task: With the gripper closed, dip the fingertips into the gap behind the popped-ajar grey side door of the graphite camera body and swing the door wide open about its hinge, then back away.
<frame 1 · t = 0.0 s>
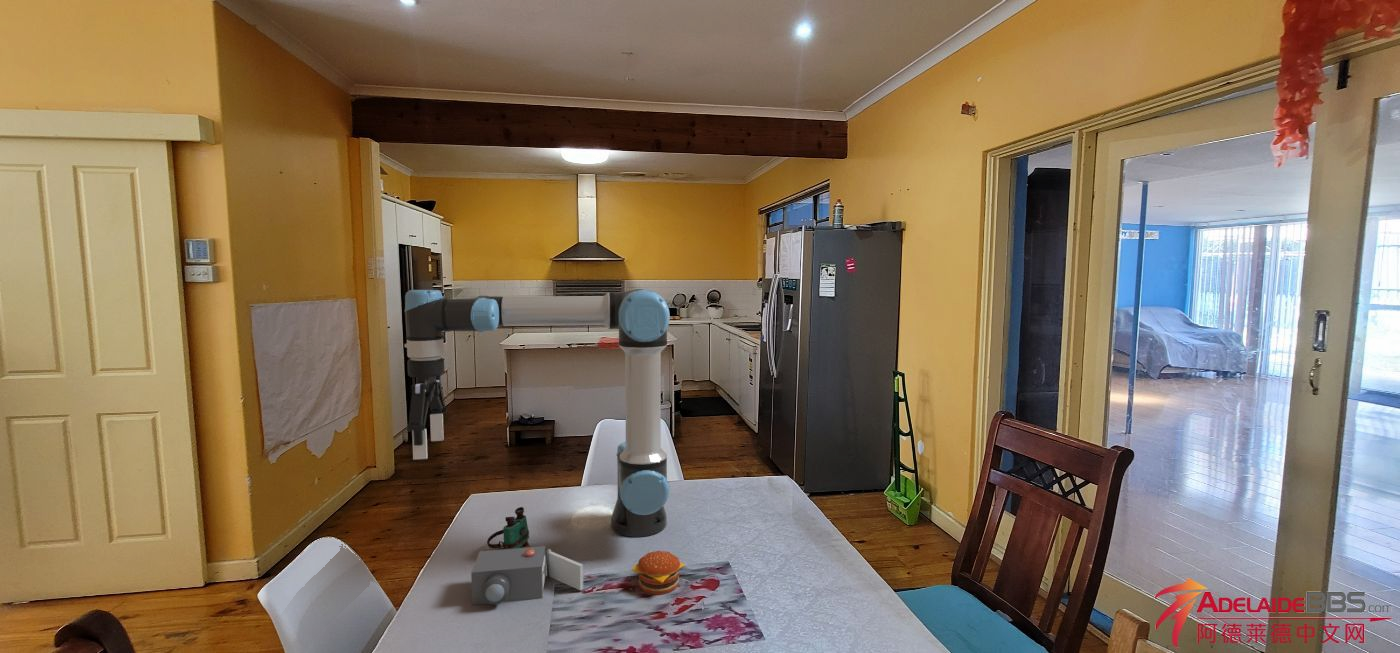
hand: (429, 449, 129), 28 cm above the table, fingers open, 13 cm apart
side door: (564, 569, 124), point 3 cm above the table, hinge at 45.0°
binoculars: (508, 553, 138), on the table
camera body: (510, 589, 122), on the table
hamburger: (658, 584, 125), on the table
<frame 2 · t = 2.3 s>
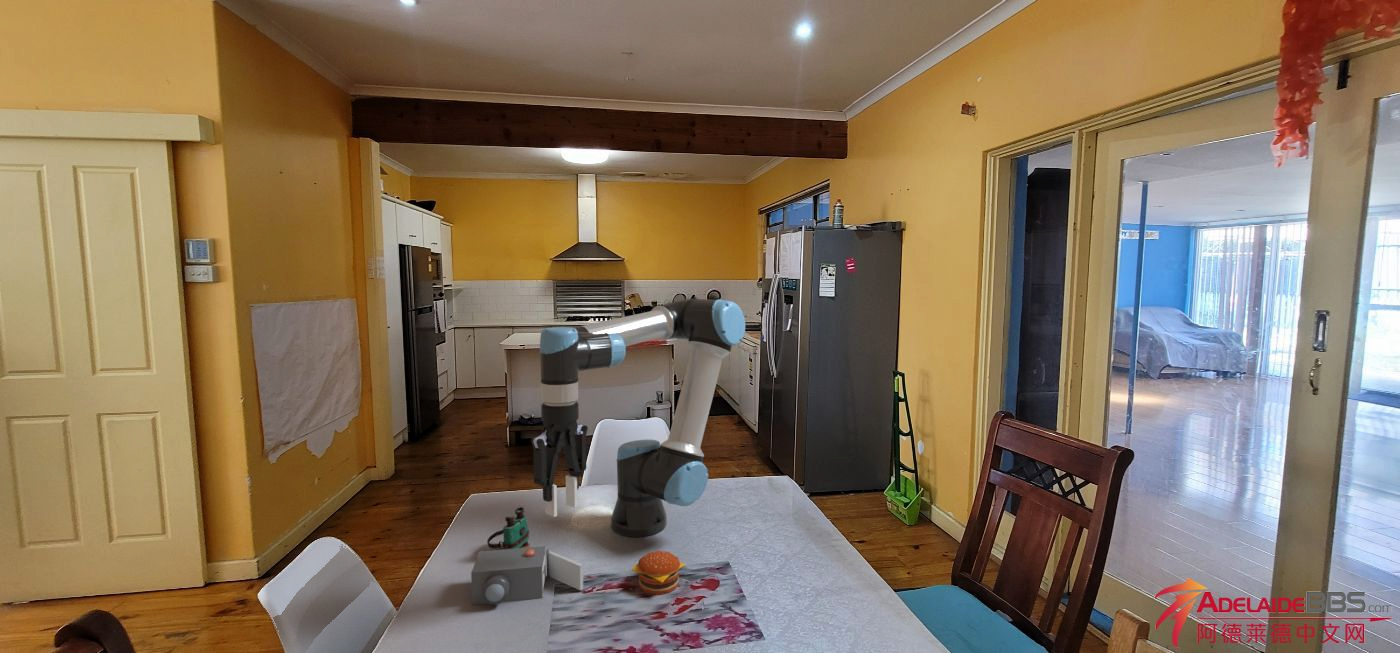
hand: (561, 509, 118), 19 cm above the table, fingers open, 5 cm apart
nothing on the table moved.
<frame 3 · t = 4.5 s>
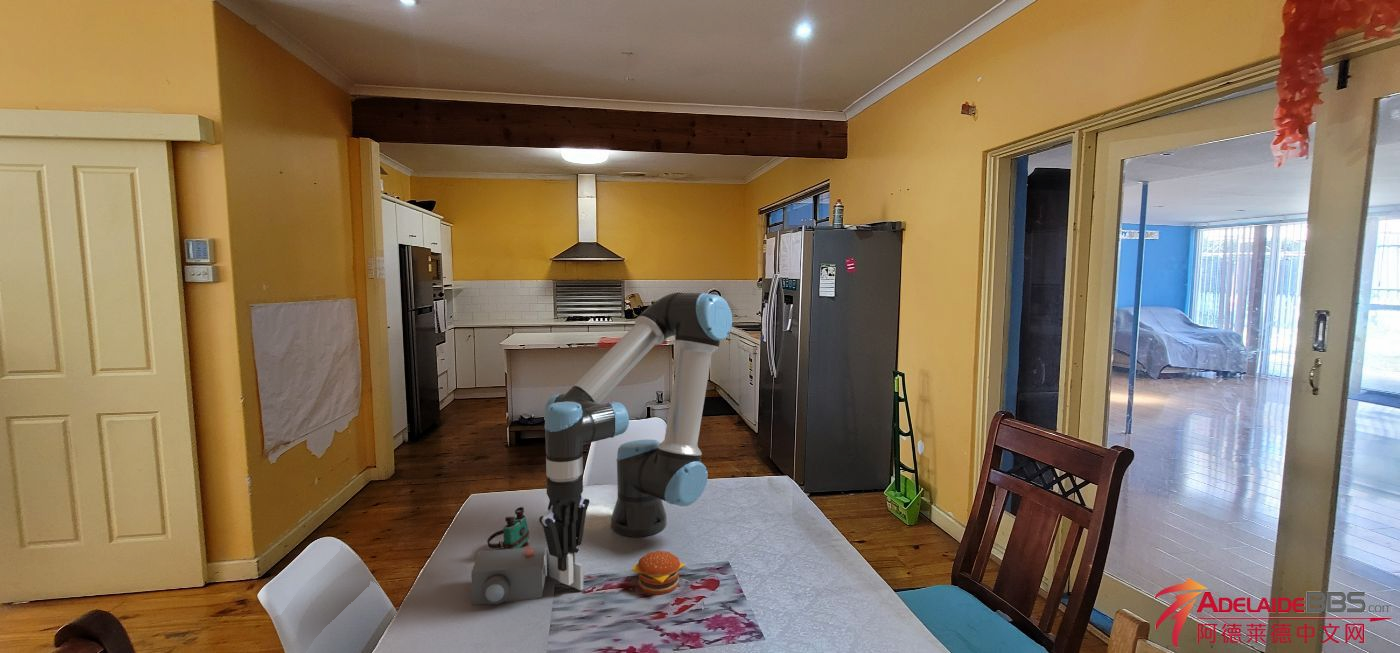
hand: (566, 582, 121), 2 cm above the table, fingers closed
side door: (564, 569, 124), point 3 cm above the table, hinge at 45.3°, touching gripper
everything else where it was.
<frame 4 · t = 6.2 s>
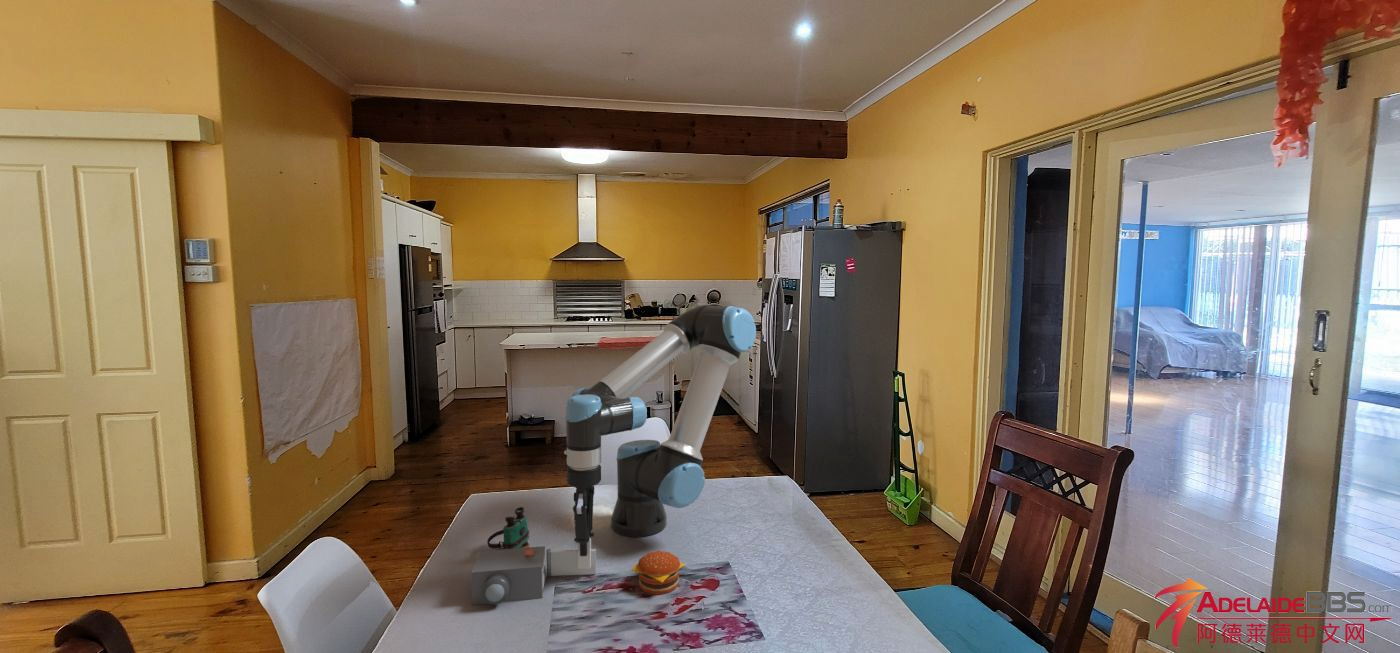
hand: (584, 567, 127), 3 cm above the table, fingers closed
side door: (571, 561, 127), point 3 cm above the table, hinge at 84.2°, touching gripper
everything else where it was.
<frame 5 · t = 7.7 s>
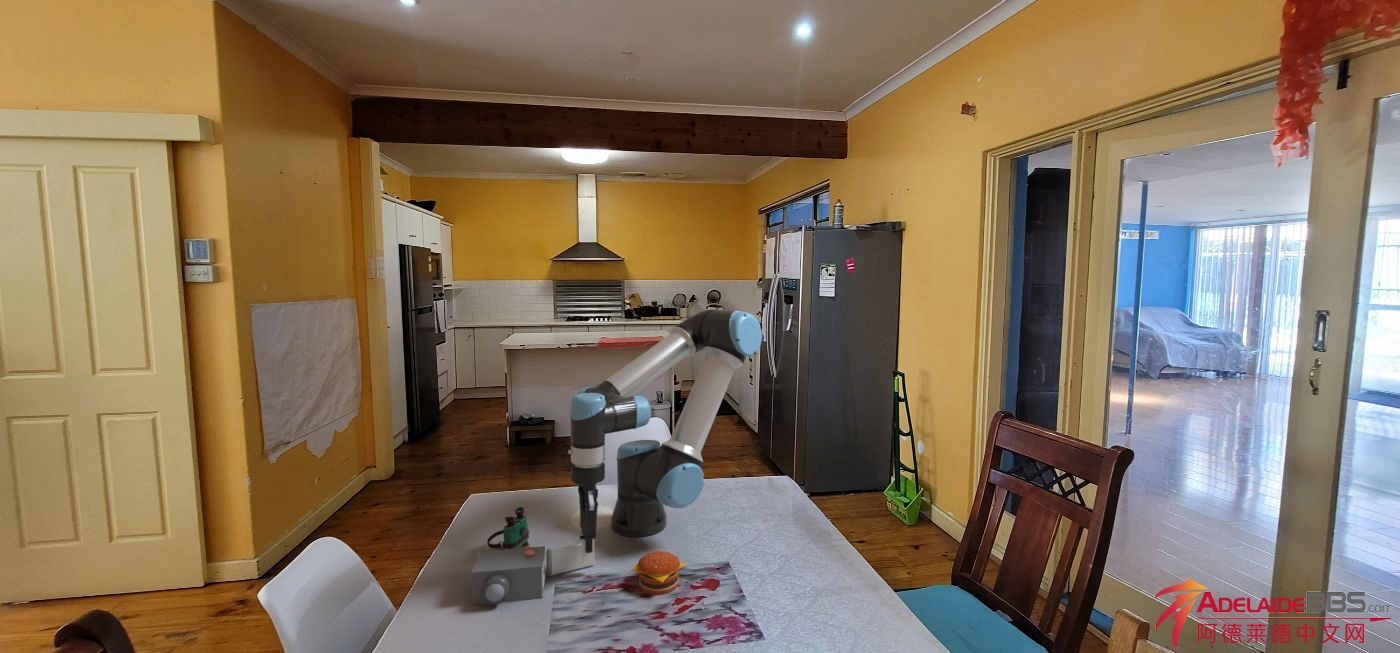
hand: (588, 563, 128), 3 cm above the table, fingers closed
side door: (570, 557, 129), point 3 cm above the table, hinge at 107.2°
everything else where it was.
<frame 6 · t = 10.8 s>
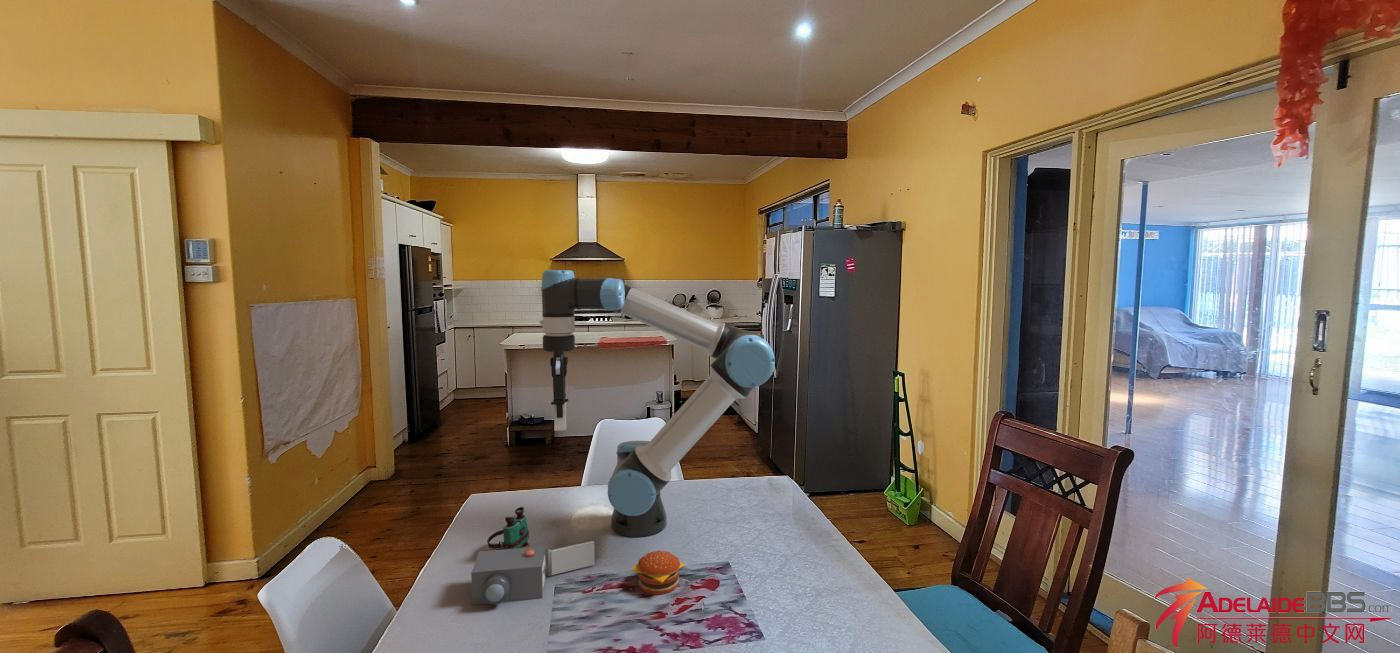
hand: (560, 429, 137), 30 cm above the table, fingers closed
nothing on the table moved.
at the end: side door at +107° (first picture: +45°) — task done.
